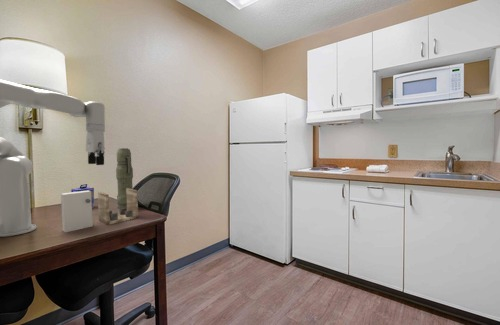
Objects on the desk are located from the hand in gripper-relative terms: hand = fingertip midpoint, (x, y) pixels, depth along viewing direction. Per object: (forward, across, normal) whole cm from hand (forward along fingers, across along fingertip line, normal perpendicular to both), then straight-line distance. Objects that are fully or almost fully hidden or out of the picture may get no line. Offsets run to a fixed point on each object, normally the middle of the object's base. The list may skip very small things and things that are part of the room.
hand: (96, 164), depth 114 cm
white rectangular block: (+28, +6, -9) cm, 30 cm away
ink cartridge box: (+28, -31, +4) cm, 42 cm away
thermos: (+27, -16, +21) cm, 38 cm away
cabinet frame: (+27, +6, +8) cm, 29 cm away
